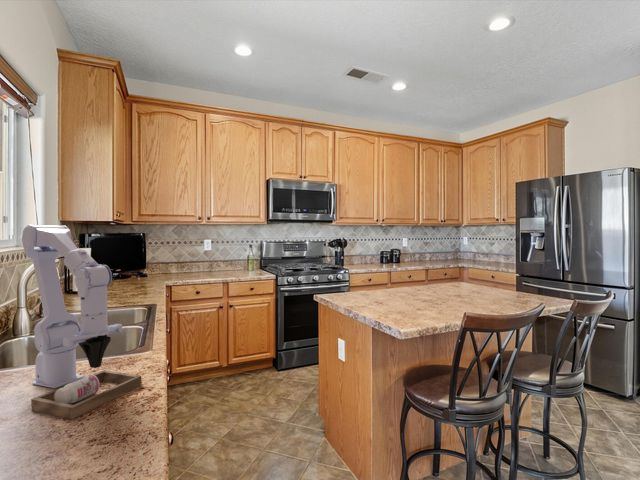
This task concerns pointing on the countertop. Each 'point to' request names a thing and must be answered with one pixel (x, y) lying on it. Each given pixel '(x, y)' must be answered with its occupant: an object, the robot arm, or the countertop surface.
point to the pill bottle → (77, 390)
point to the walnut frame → (52, 407)
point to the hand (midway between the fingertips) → (95, 366)
